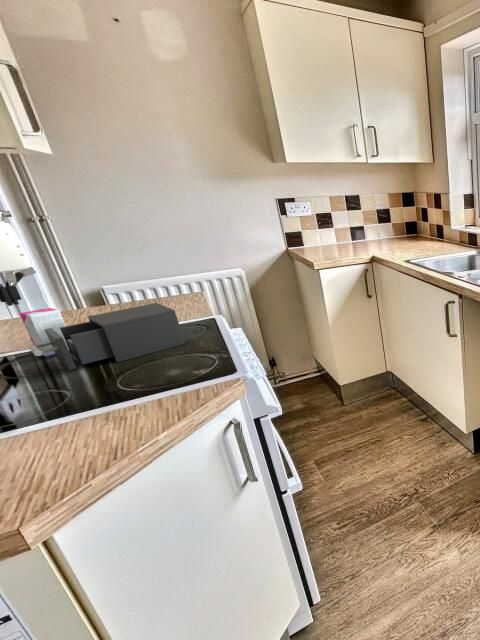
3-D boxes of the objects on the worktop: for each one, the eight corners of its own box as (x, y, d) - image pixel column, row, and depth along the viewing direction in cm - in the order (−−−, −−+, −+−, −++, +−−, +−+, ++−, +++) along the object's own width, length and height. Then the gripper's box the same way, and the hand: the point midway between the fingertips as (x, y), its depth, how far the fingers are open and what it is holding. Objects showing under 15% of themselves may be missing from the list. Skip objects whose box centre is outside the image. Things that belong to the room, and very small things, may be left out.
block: (78, 358, 101) (71, 343, 100) (73, 355, 103) (66, 340, 102) (100, 352, 104) (93, 337, 103) (94, 349, 107) (88, 335, 105)
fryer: (116, 362, 104) (102, 325, 100) (101, 350, 111) (87, 316, 108) (185, 343, 115) (174, 310, 111) (167, 334, 122) (156, 302, 119)
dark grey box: (45, 376, 95) (30, 344, 92) (35, 364, 101) (20, 334, 99) (141, 351, 108) (130, 322, 105) (126, 341, 115) (116, 314, 112)
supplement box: (77, 350, 112) (59, 309, 108) (47, 358, 107) (27, 315, 103) (67, 347, 114) (48, 306, 110) (37, 355, 109) (17, 313, 105)
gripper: (24, 215, 94) (56, 294, 100) (-87, 220, 83) (-43, 309, 89) (30, 216, 90) (63, 299, 96) (-86, 221, 79) (-39, 315, 85)
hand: (12, 304), depth 93 cm, fingers closed
